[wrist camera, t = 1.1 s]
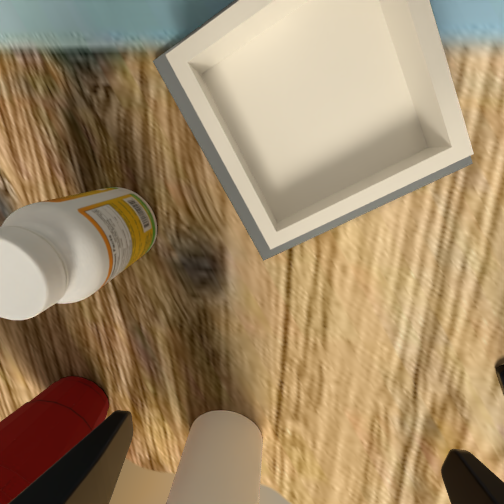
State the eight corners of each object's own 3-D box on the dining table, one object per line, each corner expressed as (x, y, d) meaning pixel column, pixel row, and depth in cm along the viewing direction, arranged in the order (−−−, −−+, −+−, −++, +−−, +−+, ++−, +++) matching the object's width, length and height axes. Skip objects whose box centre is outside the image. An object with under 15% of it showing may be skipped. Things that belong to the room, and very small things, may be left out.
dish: (441, 153, 16) (473, 153, 14) (272, 235, 19) (270, 249, 16) (372, -61, 14) (395, -116, 11) (185, 71, 16) (165, 55, 14)
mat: (467, 163, 17) (472, 163, 16) (263, 258, 20) (263, 260, 20) (386, -106, 13) (390, -116, 13) (156, 63, 17) (152, 61, 16)
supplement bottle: (83, 241, 21) (-63, 308, 12) (95, 174, 19) (-67, 194, 10) (149, 267, 22) (54, 352, 12) (167, 203, 20) (71, 248, 11)
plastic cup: (24, 339, 25) (-181, 488, 14) (138, 370, 25) (23, 546, 14) (28, 421, 29) (-130, 589, 18) (127, 449, 29) (31, 635, 18)
